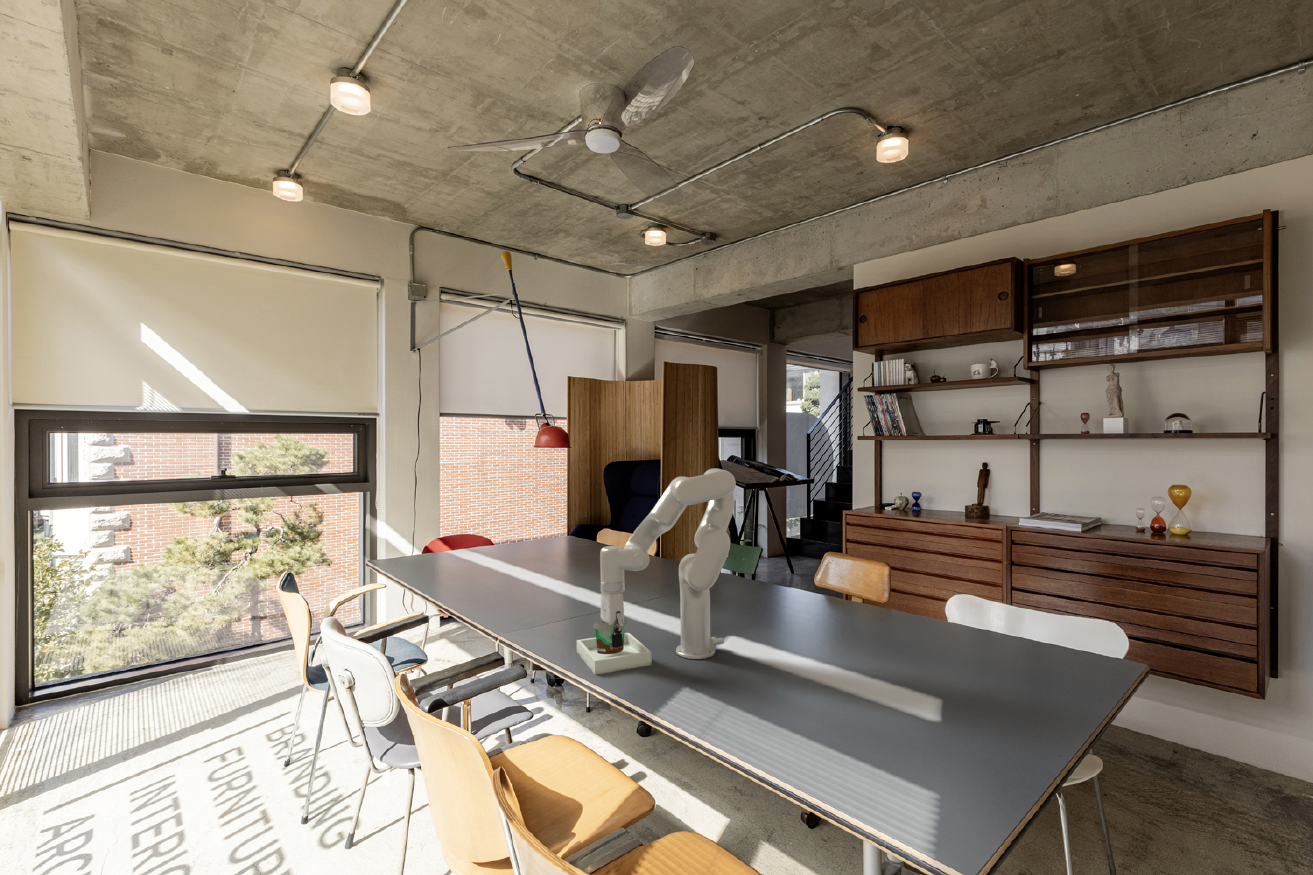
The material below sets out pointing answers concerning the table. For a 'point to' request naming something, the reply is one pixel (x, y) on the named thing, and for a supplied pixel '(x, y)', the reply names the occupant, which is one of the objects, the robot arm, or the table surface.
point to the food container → (607, 637)
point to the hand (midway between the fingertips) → (613, 642)
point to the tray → (614, 655)
